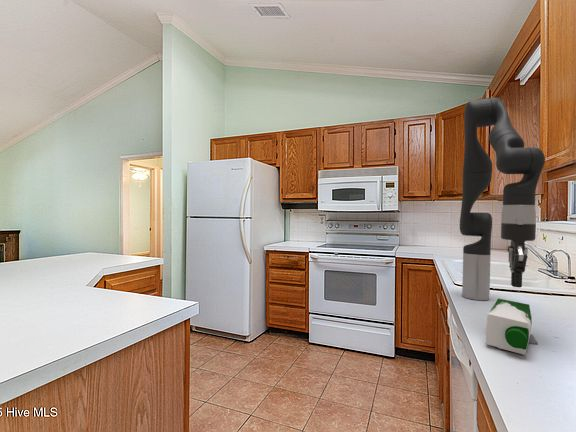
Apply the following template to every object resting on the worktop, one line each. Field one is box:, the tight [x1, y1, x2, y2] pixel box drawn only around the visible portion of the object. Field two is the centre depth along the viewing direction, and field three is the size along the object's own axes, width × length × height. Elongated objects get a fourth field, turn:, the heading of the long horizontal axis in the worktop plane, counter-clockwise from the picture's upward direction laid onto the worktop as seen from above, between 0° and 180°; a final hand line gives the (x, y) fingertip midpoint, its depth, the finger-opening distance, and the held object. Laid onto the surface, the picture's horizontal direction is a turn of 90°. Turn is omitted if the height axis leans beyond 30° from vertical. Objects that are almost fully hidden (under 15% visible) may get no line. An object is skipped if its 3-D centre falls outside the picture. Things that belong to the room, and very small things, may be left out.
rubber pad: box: [528, 333, 539, 345], centre depth 84 cm, size 6×6×1 cm
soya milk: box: [485, 297, 533, 356], centre depth 81 cm, size 9×9×20 cm
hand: (516, 286), depth 86 cm, fingers closed
